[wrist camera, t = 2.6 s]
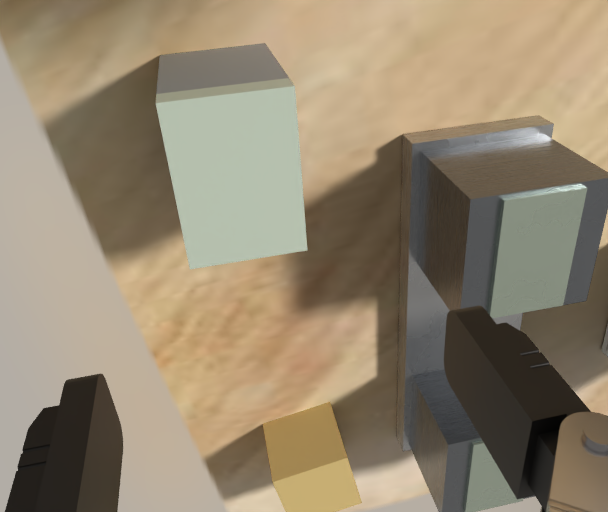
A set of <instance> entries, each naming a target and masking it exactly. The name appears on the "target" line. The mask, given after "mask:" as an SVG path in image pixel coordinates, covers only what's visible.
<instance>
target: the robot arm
mask: <svg viewBox="0 0 608 512" xmlns="http://www.w3.org/2000/svg"><path fill="white" fill-rule="evenodd" d="M444 369H445V373H446V377H447V380H448V382H449V384H450V386H451V388H452V390H453V391H454V393H455V395H456V397H457V398H458V400H459V402H460V403H461V405H462V407H463V408H464V410H465V412H466V413H467V415H468V417H469V419H470V420H471V422H472V424H473V425H474V427H475V429H476V430H477V432H478V434H479V436H480V437H481V439H482V441H483V442H484V444H485V446H486V447H487V449H488V451H489V453H490V454H491V456H492V458H493V459H494V461H495V463H496V464H497V466H498V468H499V469H500V471H501V473H502V475H503V476H504V478H505V480H506V481H507V483H508V485H509V486H510V488H511V490H512V492H513V493H514V495H515V497H516V498H517V499H521V498H525V497H530V496H534V495H535V496H536V498H537V499H538V501H539V502H540V504H541V505H542V507H541V512H608V416H606V415H603V414H600V413H595V412H591V411H590V410H589V409H588V408H587V407H586V405H585V404H584V403H583V402H582V401H581V399H580V398H579V397H578V396H577V395H576V393H575V392H574V391H573V390H572V389H571V388H570V386H569V385H568V384H567V383H566V382H565V380H564V379H563V378H562V377H561V376H560V374H559V373H558V372H557V371H556V370H555V369H554V367H553V366H552V365H549V361H548V360H547V359H546V358H545V357H544V355H543V354H542V353H539V350H538V348H537V347H536V346H535V345H534V344H533V342H532V341H531V340H530V339H529V338H528V336H527V335H526V334H524V333H523V332H521V331H520V330H518V329H516V328H515V327H513V326H511V325H510V324H508V323H506V322H505V323H500V324H496V323H495V321H494V320H493V319H492V317H491V316H490V315H489V314H488V312H487V311H486V310H485V309H484V308H483V307H482V306H473V307H468V308H462V309H457V310H451V311H449V312H448V314H447V319H446V333H445V347H444ZM122 455H123V436H122V429H121V424H120V421H119V418H118V415H117V412H116V409H115V406H114V403H113V400H112V397H111V394H110V391H109V388H108V386H107V383H106V380H105V378H104V376H103V374H97V375H91V376H85V377H80V378H75V379H69V380H66V382H65V384H64V387H63V392H62V396H61V400H60V405H59V406H54V407H48V408H44V409H43V410H42V411H41V412H40V414H39V415H38V417H37V418H36V419H35V420H34V422H33V423H32V424H31V426H30V427H29V429H28V432H27V436H26V439H25V442H24V446H23V454H21V457H20V460H19V464H18V471H16V474H15V478H14V482H13V485H12V489H11V492H10V496H9V499H8V503H7V506H6V510H5V512H117V508H118V498H119V487H120V476H121V466H122Z"/></svg>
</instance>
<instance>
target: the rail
mask: <svg viewBox="0 0 608 512" xmlns="http://www.w3.org/2000/svg"><path fill="white" fill-rule="evenodd" d="M553 125H554V124H553V123H551V122H550V121H548V120H546V119H544V118H542V117H541V116H532V117H525V118H518V119H510V120H503V121H496V122H489V123H481V124H474V125H467V126H460V127H452V128H445V129H438V130H431V131H423V132H416V133H409V134H403V146H402V193H401V240H400V287H399V334H398V381H397V428H396V436H397V439H398V441H399V443H400V446H401V448H402V450H403V451H407V450H412V452H413V454H414V457H415V459H416V461H417V463H418V466H419V468H420V470H421V472H422V475H423V477H424V479H425V482H426V484H427V486H428V488H429V491H430V493H431V495H432V497H433V499H434V502H435V504H436V506H437V509H438V511H439V512H476V511H481V510H485V509H489V508H494V507H498V506H503V505H507V504H511V503H516V502H520V501H523V499H525V498H529V497H525V498H521V499H517V498H516V497H515V495H514V493H513V492H512V490H511V488H510V486H509V485H508V483H507V481H506V480H505V478H504V476H503V475H502V473H501V471H500V469H499V468H498V466H497V464H496V463H495V461H494V459H493V458H492V456H491V454H490V453H489V451H488V449H487V447H486V446H485V444H484V442H483V441H482V439H481V437H480V436H479V434H478V432H477V430H476V429H475V427H474V425H473V424H472V422H471V420H470V419H469V417H468V415H467V413H466V412H465V410H464V408H463V407H462V405H461V403H460V402H459V400H458V398H457V397H456V395H455V393H454V391H453V390H452V388H451V386H450V384H449V382H448V380H447V377H446V373H445V369H444V347H445V333H446V319H447V314H448V312H449V311H451V310H457V309H462V308H468V307H473V306H482V307H483V308H484V309H485V310H486V311H487V312H488V314H489V315H490V316H491V317H492V319H493V320H494V321H495V323H496V324H500V323H505V322H506V323H508V324H510V325H511V326H513V327H515V328H516V329H518V330H520V327H521V321H522V315H523V313H525V312H530V311H535V310H541V309H546V308H552V307H557V306H563V305H566V304H572V303H577V302H583V301H586V300H587V296H588V291H589V287H590V283H591V279H592V274H593V270H594V266H595V261H596V257H597V253H598V248H599V244H600V240H601V236H602V231H603V227H604V223H605V218H606V214H607V210H608V172H606V171H605V170H603V169H601V168H600V167H598V166H596V165H595V164H593V163H591V162H590V161H588V160H586V159H585V158H583V157H581V156H580V155H578V154H576V153H575V152H573V151H571V150H570V149H568V148H566V147H565V146H563V145H561V144H560V143H558V142H556V141H555V140H553V139H551V138H552V132H553ZM534 496H535V495H534ZM534 496H530V497H534Z"/></svg>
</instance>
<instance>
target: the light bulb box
mask: <svg viewBox="0 0 608 512" xmlns="http://www.w3.org/2000/svg"><path fill="white" fill-rule="evenodd" d="M602 352H603V353H604V354H605V355H606V356H607V357H608V324H607V329H606V333H605V337H604V342H603V345H602Z"/></svg>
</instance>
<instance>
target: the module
mask: <svg viewBox="0 0 608 512" xmlns="http://www.w3.org/2000/svg"><path fill="white" fill-rule="evenodd" d="M156 108H157V113H158V118H159V122H160V127H161V132H162V137H163V142H164V146H165V151H166V156H167V161H168V166H169V171H170V175H171V180H172V185H173V190H174V195H175V200H176V204H177V209H178V214H179V219H180V224H181V229H182V233H183V238H184V243H185V248H186V253H187V257H188V262H189V267H190V269H195V268H201V267H208V266H214V265H220V264H226V263H232V262H239V261H245V260H251V259H257V258H263V257H270V256H276V255H282V254H288V253H294V252H301V251H307V237H306V224H305V211H304V198H303V185H302V172H301V159H300V146H299V133H298V120H297V107H296V95H295V86H294V84H293V83H292V81H291V80H290V78H289V77H288V75H287V74H286V73H285V71H284V70H283V68H282V67H281V65H280V64H279V63H278V61H277V60H276V58H275V57H274V55H273V54H272V52H271V51H270V50H269V48H268V47H267V45H266V44H265V43H264V44H255V45H246V46H237V47H228V48H219V49H210V50H202V51H193V52H184V53H175V54H166V55H160V58H159V70H158V81H157V92H156Z"/></svg>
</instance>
